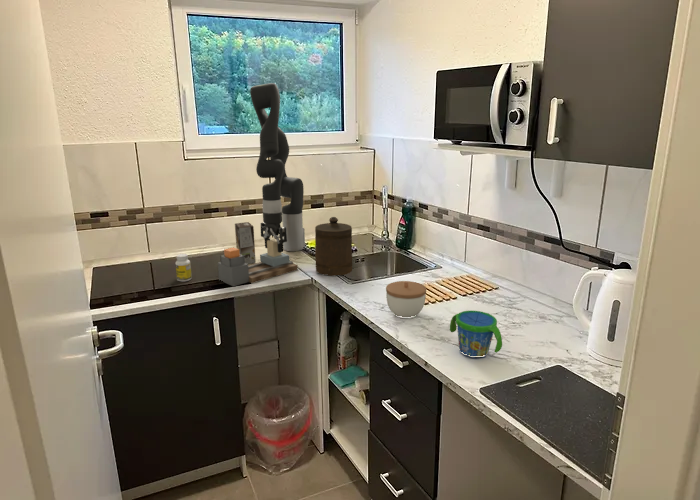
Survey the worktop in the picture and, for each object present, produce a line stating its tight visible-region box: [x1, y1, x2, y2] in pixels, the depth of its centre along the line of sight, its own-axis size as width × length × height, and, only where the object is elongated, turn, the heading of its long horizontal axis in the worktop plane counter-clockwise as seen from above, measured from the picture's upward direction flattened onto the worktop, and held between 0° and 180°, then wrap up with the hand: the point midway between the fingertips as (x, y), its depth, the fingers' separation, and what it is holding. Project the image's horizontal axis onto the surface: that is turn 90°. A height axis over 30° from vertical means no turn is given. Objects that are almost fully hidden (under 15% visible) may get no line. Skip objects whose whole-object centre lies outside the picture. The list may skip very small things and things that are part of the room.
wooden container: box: [314, 216, 353, 277], centre depth 194 cm, size 15×15×22 cm
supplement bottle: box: [175, 253, 192, 282], centre depth 185 cm, size 5×5×10 cm
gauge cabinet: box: [217, 254, 250, 287], centre depth 184 cm, size 7×10×10 cm
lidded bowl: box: [385, 280, 427, 317], centre depth 154 cm, size 13×13×11 cm
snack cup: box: [449, 310, 503, 356], centre depth 129 cm, size 16×10×10 cm
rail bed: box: [248, 260, 299, 284], centre depth 195 cm, size 22×14×3 cm, turn 135°
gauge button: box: [223, 247, 240, 258], centre depth 182 cm, size 4×4×3 cm
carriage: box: [259, 238, 291, 267], centre depth 196 cm, size 8×9×9 cm
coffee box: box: [234, 221, 257, 265], centre depth 207 cm, size 9×6×16 cm
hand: (274, 249), depth 196 cm, fingers open, 8 cm apart
